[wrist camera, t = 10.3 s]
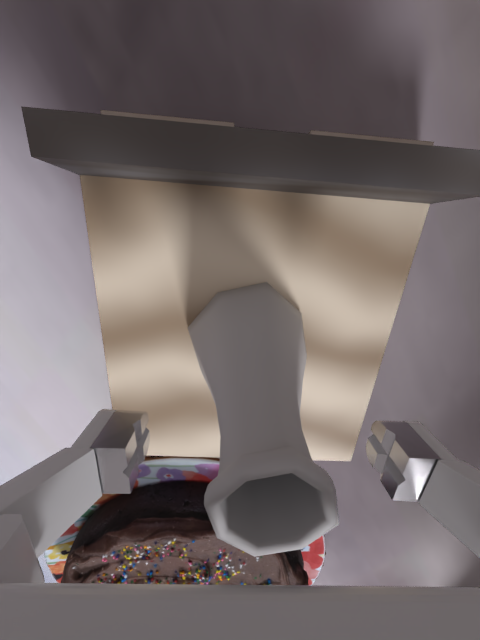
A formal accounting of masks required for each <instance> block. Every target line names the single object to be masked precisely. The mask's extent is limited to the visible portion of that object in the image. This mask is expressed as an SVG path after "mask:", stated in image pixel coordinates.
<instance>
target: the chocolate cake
mask: <svg viewBox="0 0 480 640" xmlns="http://www.w3.org/2000/svg"><path fill="white" fill-rule="evenodd" d="M219 462H220V459H218V458H212V457H182V456H165V457H157V458H153V457H145V460H144V461H143V462H142V463H141V464H140V465H138V466H139V475H138V477H137V480H136V482H135V485H134V487H133V490H132V492H131V494H102V496H101V497H100V498H99V499H98V500H97V501H96V502H95V503H94V504H93V505H92V506H91V507H90V508H89V509H88V510H87V511H86V512H85V513H84V514H83V515H82V516H81V517H80V518H79V519H78V520H77V521H76V522H75V523H74V524H73V525H71V526H70V527H69V528H68V529H67V530H66V531H65V532H64V533H63V534H62V535H61V536H60V537H59V538H58V539H57V540H56V541H55V542H54V543H53V544H52V545H51V546H50V547H49V548H48V549H47V550H46V551H45V552H44V557H45V558H46V563H47V565H48V567H49V568H50V571H51V573H52V575H53V577H54V578H55V579H56V581H57V583H98V584H202V585H309V586H312V584H313V583H314V581H315V580H316V579H317V577H318V575H319V572H320V570H321V568H322V566H323V564H324V559H325V555H326V551H325V538H324V535H323V536H321V537H320V538H318V539H317V540H315V541H314V542H312V543H311V544H309V545H308V546H306V547H305V548H303V549H299V550H293V551H287V552H281V553H275V554H268V555H262V556H256V557H254V556H252V555H250V554H248V553H246V552H244V551H242V550H240V549H238V548H236V547H234V546H232V545H230V544H228V543H226V542H224V541H222V540H220V539H218V538H217V536H216V534H215V531H214V529H213V526H212V524H211V521H210V519H209V516H208V514H207V511H206V509H205V506H204V495H205V492H206V489H207V486H208V484H209V483H210V482H211V481H212V480H213V479H215V478H216V477H217V476H218V471H219Z"/></svg>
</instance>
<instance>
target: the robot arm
mask: <svg viewBox="0 0 480 640" xmlns="http://www.w3.org/2000/svg"><path fill="white" fill-rule="evenodd" d="M148 421H149V418H148V413H147V412H145V411H129V410H109V409H102V410H101V411H99V412H98V413H97V414H96V416H95V417H94V418H93V419H92V421H91V422H90V423H89V425H88V426H87V427H86V428H85V430H84V431H83V432H82V434H81V435H80V436H79V437H78V439H77V440H76V441H75V443H74V444H73V445H72V446H71V448H64V449H62V450H61V451H59V452H57V453H56V454H54V455H52V456H50V457H49V458H47V459H45V460H44V461H42V462H40V463H39V464H37V465H35V466H33V467H32V468H30V469H28V470H27V471H25V472H23V473H21V474H20V475H18V476H16V477H15V478H13V479H11V480H10V481H8V482H6V483H4V484H3V485H1V486H0V640H480V587H402V586H309V585H202V584H98V583H44V582H45V581H44V575H43V572H42V570H41V567H40V564H39V561H38V559H37V558H38V557H39V556H40V555H42V554H43V553H44V552H45V551H46V550H47V549H48V548H49V547H50V546H51V545H52V544H53V543H54V542H55V541H56V540H57V539H58V538H59V537H60V536H61V535H62V534H63V533H64V532H65V531H66V530H67V529H68V528H69V527H70V526H71V525H73V524H74V523H75V522H76V521H77V520H78V519H79V518H80V517H81V516H82V515H83V514H84V513H85V512H86V511H87V510H88V509H89V508H90V507H91V506H92V505H93V504H94V503H95V502H96V501H97V500H98V499H99V498H100V497H101V496H102V494H131V492H132V490H133V487H134V485H135V482H136V480H137V477H138V475H139V466H138V465H140V464H141V463H142V462H143V461H144V460H145V457H146V455H147V452H148V447H149V442H150V431H149V430H148V429H147V428H146V426H147V424H148ZM371 430H372V432H373V435H372V436H371V437H369V438H368V440H367V444H366V452H367V457H368V459H369V462H370V463H371V465H372V467H373V468H374V469H375V470H376V471H378V472H379V473H380V474H381V479H380V480H381V482H382V484H383V485H384V487H385V489H386V490H387V492H388V494H389V495H390V497H391V499H392V500H396V501H413V502H419V504H420V505H421V506H422V507H423V508H424V509H425V510H426V511H428V512H429V513H430V514H431V515H432V516H433V517H434V518H435V519H436V520H438V521H439V522H440V523H441V524H442V525H443V526H444V527H445V528H447V529H448V530H449V531H450V532H451V533H452V534H453V535H454V536H455V537H457V538H458V539H459V540H460V541H461V542H462V543H463V544H464V545H465V546H467V547H468V548H469V549H470V550H471V551H472V552H473V553H474V554H476V555H477V556H478V557H479V558H480V470H479V469H477V468H475V467H473V466H472V465H470V464H468V463H466V462H465V461H459V460H458V459H457V458H456V457H455V456H454V455H453V454H452V453H451V452H450V451H449V450H448V449H447V448H446V447H445V446H444V445H443V444H442V443H441V442H440V441H439V440H438V439H437V438H436V437H435V436H434V435H433V434H432V433H431V432H430V431H429V430H428V429H427V428H426V427H425V426H424V425H423V424H421V423H419V422H415V421H403V422H401V421H375V422H374V423H373V424H372V427H371Z"/></svg>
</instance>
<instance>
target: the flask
mask: <svg viewBox="0 0 480 640" xmlns="http://www.w3.org/2000/svg"><path fill="white" fill-rule="evenodd" d="M188 331H189V334H190V337H191V341H192V344H193V347H194V350H195V353H196V357H197V360H198V363H199V366H200V369H201V372H202V374H203V377H204V379H205V381H206V383H207V385H208V387H209V389H210V392H211V394H212V397H213V400H214V402H215V405H216V410H217V416H218V423H219V429H220V436H221V438H220V462H219V471H218V476H217V477H216V478H215V479H213V480H212V481H211V482H210V483H209V484H208V486H207V489H206V492H205V495H204V506H205V509H206V511H207V514H208V516H209V519H210V521H211V524H212V526H213V529H214V531H215V534H216V536H217V538H218V539H220V540H222V541H224V542H226V543H228V544H230V545H232V546H234V547H236V548H238V549H240V550H242V551H244V552H246V553H248V554H250V555H252V556H254V557H256V556H262V555H268V554H275V553H281V552H287V551H293V550H299V549H303V548H305V547H306V546H308V545H309V544H311V543H312V542H314V541H315V540H317V539H318V538H320V537H321V536H323V535H324V534H326V533H327V532H329V531H330V530H332V529H333V528H335V527H336V526H338V525H339V518H338V508H337V499H336V490H335V487H334V484H333V481H332V479H331V478H330V476H329V475H328V473H327V472H326V471H325V470H324V469H322V468H321V467H319V466H318V465H317V464H315V463H314V462H313V460H312V458H311V456H310V452H309V449H308V446H307V443H306V440H305V437H304V434H303V431H302V426H301V419H300V407H301V396H302V385H303V377H304V371H305V365H306V358H307V353H306V345H305V337H304V329H303V321H302V314H301V312H300V311H299V310H297V309H296V308H295V307H294V306H293V305H292V304H291V303H290V302H289V301H287V300H286V299H285V298H284V297H283V296H282V295H281V294H280V293H279V292H277V291H276V290H275V289H274V288H273V287H272V286H271V285H270V284H268V283H267V282H264V283H259V284H254V285H250V286H245V287H241V288H236V289H231V290H227V291H222V292H218V293H217V294H216V295H215V296H214V297H213V298H212V300H211V301H210V302H209V303H208V304H207V305H206V307H205V308H204V309H203V310H202V311H201V312H200V314H199V315H198V316H197V317H196V318H195V319H194V321H193V322H192V323H191V324H190V325H189V326H188Z"/></svg>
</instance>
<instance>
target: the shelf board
mask: <svg viewBox="0 0 480 640" xmlns="http://www.w3.org/2000/svg"><path fill="white" fill-rule="evenodd" d="M22 112H23V117H24V122H25V127H26V132H27V137H28V142H29V148H30V153H31V157H34V158H37V159H39V160H42V161H45V162H47V163H50V164H52V165H55V166H58V167H60V168H63V169H66V170H68V171H71V172H74V173H76V174H79V175H80V180H81V187H82V194H83V202H84V209H85V216H86V223H87V230H88V237H89V244H90V252H91V259H92V266H93V273H94V280H95V287H96V295H97V302H98V309H99V316H100V323H101V330H102V337H103V345H104V352H105V359H106V366H107V373H108V380H109V388H110V395H111V402H112V409H113V410H129V411H145V412H147V413H148V418H149V421H148V424H147V426H146V428H147V429H148V430H149V431H150V442H149V447H148V452H147V455H146V456H182V457H218V458H220V438H221V436H220V429H219V423H218V416H217V410H216V405H215V402H214V400H213V397H212V394H211V392H210V389H209V387H208V385H207V383H206V381H205V379H204V377H203V374H202V372H201V369H200V366H199V363H198V360H197V357H196V353H195V350H194V347H193V344H192V341H191V337H190V334H189V331H188V326H189V325H190V324H191V323H192V322H193V321H194V319H195V318H196V317H197V316H198V315H199V314H200V312H201V311H202V310H203V309H204V308H205V307H206V305H207V304H208V303H209V302H210V301H211V300H212V298H213V297H214V296H215V295H216V294H217V293H218V292H222V291H227V290H231V289H236V288H241V287H245V286H250V285H254V284H259V283H264V282H267V283H268V284H270V285H271V286H272V287H273V288H274V289H275V290H276V291H277V292H279V293H280V294H281V295H282V296H283V297H284V298H285V299H286V300H287V301H289V302H290V303H291V304H292V305H293V306H294V307H295V308H296V309H297V310H299V311H300V312H301V314H302V321H303V329H304V337H305V345H306V353H307V358H306V365H305V371H304V377H303V385H302V396H301V407H300V419H301V426H302V431H303V434H304V437H305V440H306V443H307V446H308V449H309V452H310V456H311V458H312V460H326V461H351V459H352V455H353V452H354V449H355V446H356V442H357V439H358V436H359V433H360V429H361V426H362V423H363V420H364V416H365V413H366V410H367V407H368V403H369V400H370V397H371V394H372V390H373V387H374V384H375V381H376V377H377V374H378V371H379V368H380V365H381V361H382V358H383V355H384V352H385V348H386V345H387V342H388V339H389V335H390V332H391V329H392V326H393V322H394V319H395V316H396V313H397V309H398V306H399V303H400V300H401V296H402V293H403V290H404V287H405V283H406V280H407V277H408V274H409V270H410V267H411V264H412V261H413V258H414V254H415V251H416V248H417V245H418V241H419V238H420V235H421V232H422V228H423V225H424V222H425V219H426V215H427V212H428V209H429V206H430V204H432V203H439V202H446V201H452V200H459V199H466V198H472V197H479V196H480V150H473V149H462V148H451V147H441V146H433V143H434V142H429V141H419V140H409V139H398V138H388V137H377V136H367V135H356V134H346V133H336V132H325V131H315V130H311V131H310V132H309V133H308V134H304V133H294V132H283V131H273V130H262V129H252V128H241V127H234V123H231V122H221V121H210V120H200V119H189V118H179V117H169V116H158V115H148V114H137V113H127V112H116V111H106V110H101V114H94V113H83V112H73V111H62V110H52V109H41V108H31V107H22Z"/></svg>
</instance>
